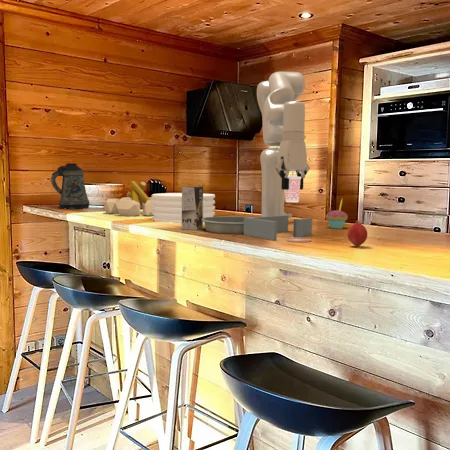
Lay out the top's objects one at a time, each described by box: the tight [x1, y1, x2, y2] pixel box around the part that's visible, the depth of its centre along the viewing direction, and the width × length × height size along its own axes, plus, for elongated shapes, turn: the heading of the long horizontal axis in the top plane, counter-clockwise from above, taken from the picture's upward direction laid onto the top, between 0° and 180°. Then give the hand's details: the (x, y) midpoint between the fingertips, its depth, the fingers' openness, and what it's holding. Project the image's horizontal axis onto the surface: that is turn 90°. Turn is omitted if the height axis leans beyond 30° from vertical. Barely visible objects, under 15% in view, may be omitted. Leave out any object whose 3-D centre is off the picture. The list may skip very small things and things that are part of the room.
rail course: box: [243, 215, 313, 241], centre depth 179 cm, size 20×16×6 cm
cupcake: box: [325, 197, 349, 230], centre depth 204 cm, size 9×8×12 cm
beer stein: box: [50, 162, 90, 210], centre depth 287 cm, size 16×19×25 cm
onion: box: [347, 220, 368, 248], centre depth 155 cm, size 6×6×8 cm
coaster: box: [285, 236, 312, 243], centre depth 167 cm, size 8×8×1 cm
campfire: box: [102, 180, 154, 217], centre depth 260 cm, size 35×34×17 cm
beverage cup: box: [284, 170, 301, 203], centre depth 182 cm, size 6×6×14 cm
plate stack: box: [151, 192, 216, 224], centre depth 231 cm, size 28×28×12 cm
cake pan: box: [202, 215, 250, 235], centre depth 194 cm, size 25×25×4 cm
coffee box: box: [181, 186, 204, 231], centre depth 197 cm, size 9×6×16 cm
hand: (292, 189), depth 182 cm, fingers closed on beverage cup, 6 cm apart
